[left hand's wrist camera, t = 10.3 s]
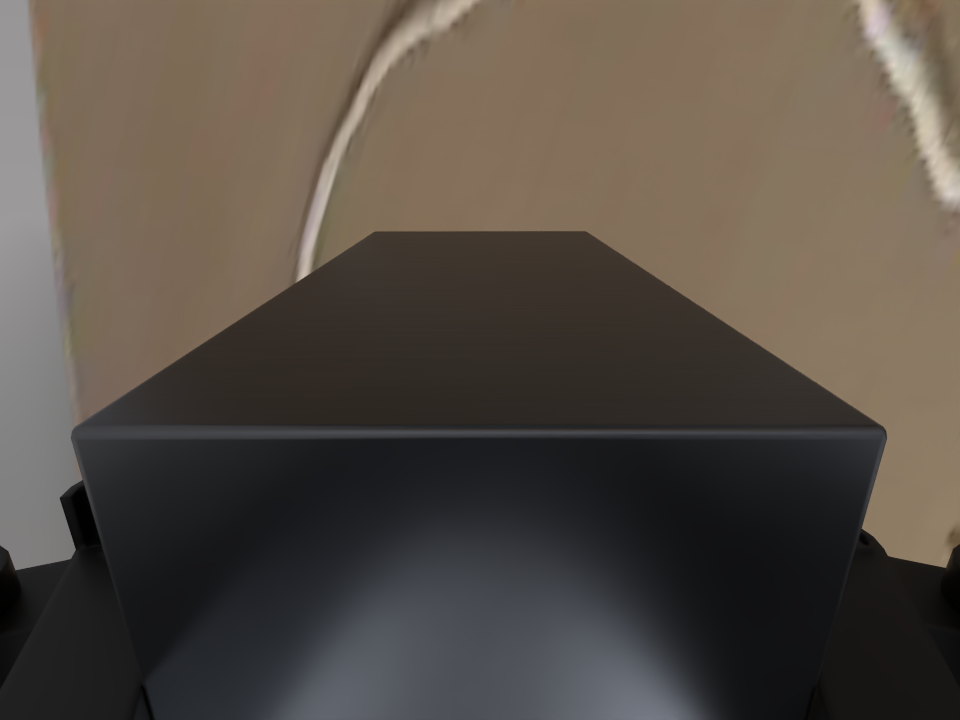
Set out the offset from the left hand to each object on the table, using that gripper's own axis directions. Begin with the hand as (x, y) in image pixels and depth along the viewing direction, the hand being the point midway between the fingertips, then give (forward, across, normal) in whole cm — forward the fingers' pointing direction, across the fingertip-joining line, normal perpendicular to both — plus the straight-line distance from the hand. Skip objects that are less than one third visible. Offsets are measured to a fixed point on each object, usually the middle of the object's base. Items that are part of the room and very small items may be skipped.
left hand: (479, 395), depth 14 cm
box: (+3, 0, -9) cm, 9 cm away
